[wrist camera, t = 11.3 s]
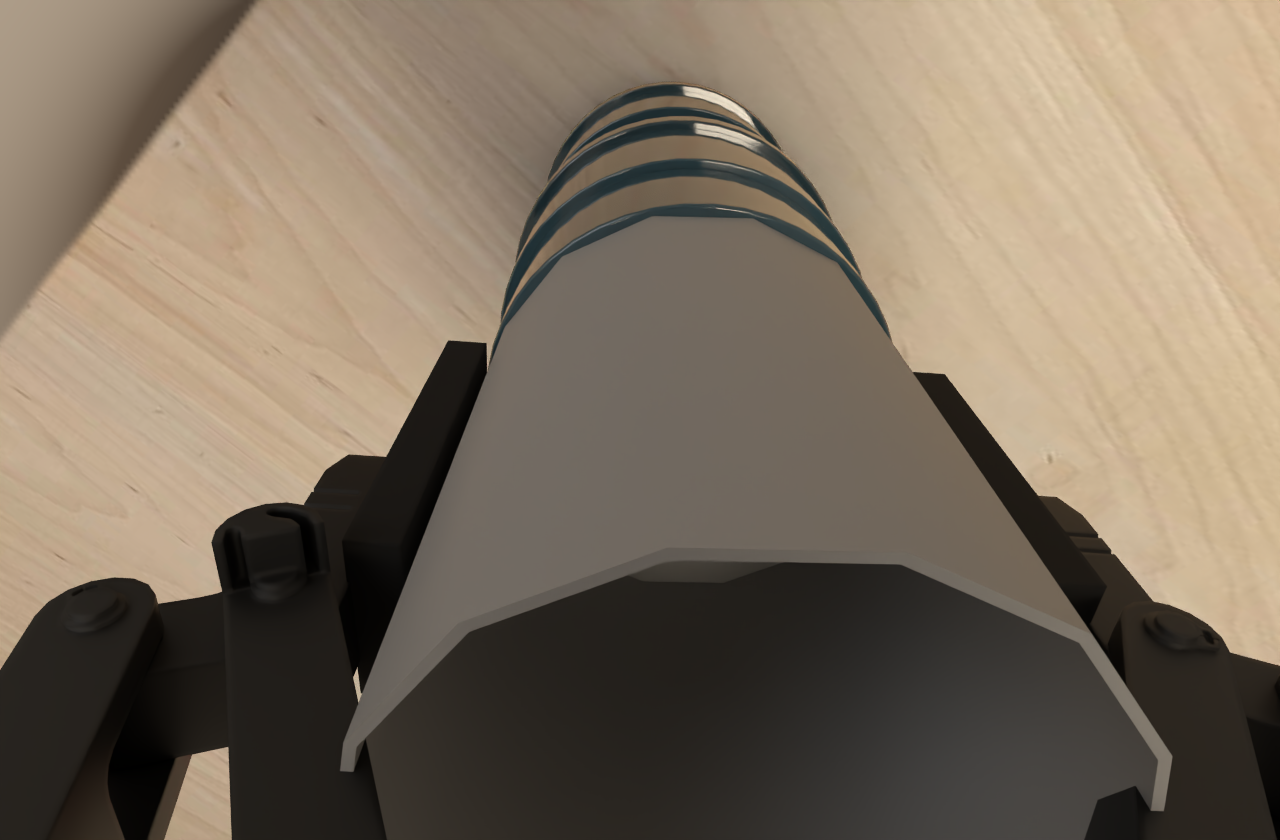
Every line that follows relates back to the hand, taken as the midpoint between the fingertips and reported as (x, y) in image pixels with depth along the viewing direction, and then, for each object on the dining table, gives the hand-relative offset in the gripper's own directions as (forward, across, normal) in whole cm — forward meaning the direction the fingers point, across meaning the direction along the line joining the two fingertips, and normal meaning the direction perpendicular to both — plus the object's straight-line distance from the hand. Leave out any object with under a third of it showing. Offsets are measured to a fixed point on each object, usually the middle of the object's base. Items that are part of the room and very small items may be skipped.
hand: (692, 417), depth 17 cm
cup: (0, 0, 0) cm, 0 cm away
